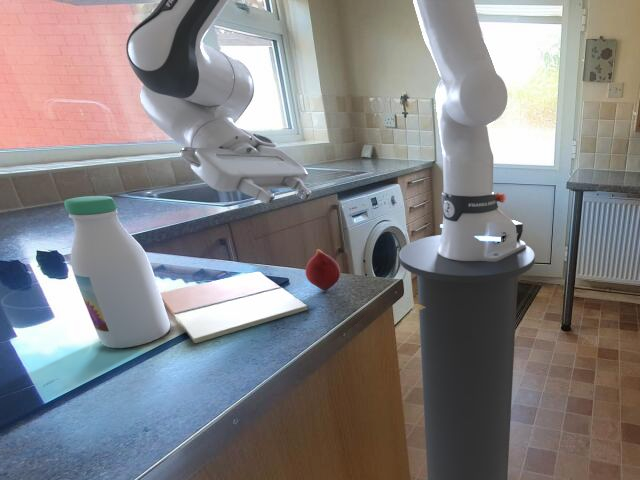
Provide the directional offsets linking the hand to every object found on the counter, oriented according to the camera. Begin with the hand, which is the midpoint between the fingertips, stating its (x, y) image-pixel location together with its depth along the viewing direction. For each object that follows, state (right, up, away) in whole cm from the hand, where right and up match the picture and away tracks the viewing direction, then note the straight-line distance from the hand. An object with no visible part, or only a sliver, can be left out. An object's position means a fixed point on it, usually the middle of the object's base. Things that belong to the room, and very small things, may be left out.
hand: (290, 198), depth 73 cm
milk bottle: (-15, -23, -14) cm, 31 cm away
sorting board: (-9, -19, -3) cm, 21 cm away
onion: (+4, -17, +4) cm, 18 cm away
